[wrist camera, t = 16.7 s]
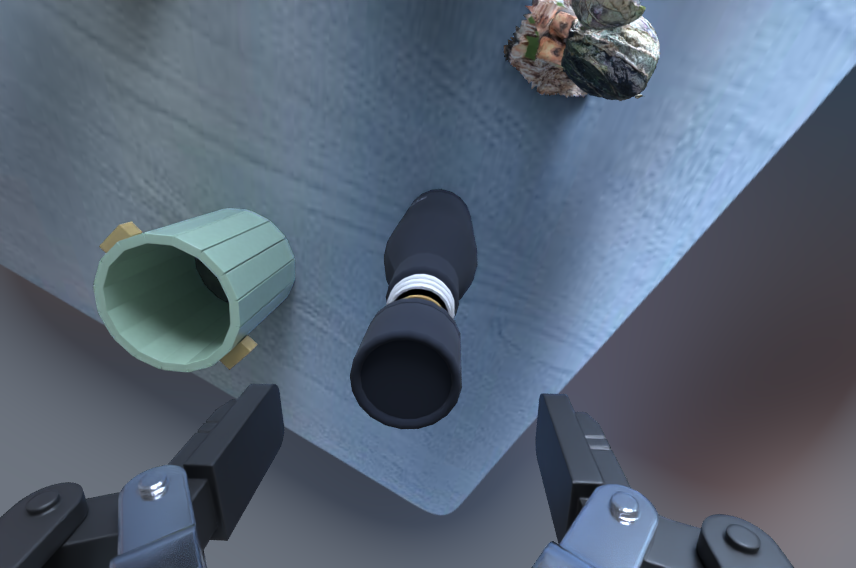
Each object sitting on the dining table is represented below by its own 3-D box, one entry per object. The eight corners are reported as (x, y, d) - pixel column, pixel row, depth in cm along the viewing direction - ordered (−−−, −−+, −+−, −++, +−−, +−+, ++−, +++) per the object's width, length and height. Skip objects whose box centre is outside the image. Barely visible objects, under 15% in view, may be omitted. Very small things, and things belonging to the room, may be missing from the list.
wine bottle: (454, 262, 44) (452, 485, 16) (396, 237, 44) (288, 421, 15) (481, 205, 42) (534, 342, 14) (421, 178, 42) (348, 263, 13)
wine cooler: (228, 175, 43) (141, 188, 31) (325, 279, 46) (280, 328, 34) (157, 247, 46) (53, 285, 34) (253, 341, 49) (188, 406, 37)
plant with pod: (577, 139, 40) (689, 140, 21) (489, 48, 38) (525, -43, 19) (649, 66, 38) (845, -6, 19) (559, -35, 36) (678, -231, 17)
